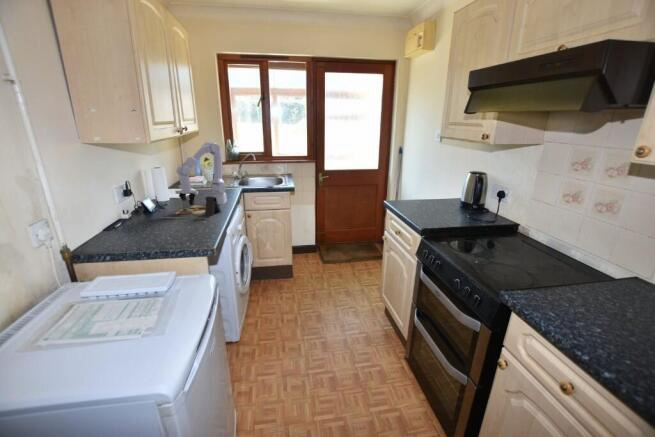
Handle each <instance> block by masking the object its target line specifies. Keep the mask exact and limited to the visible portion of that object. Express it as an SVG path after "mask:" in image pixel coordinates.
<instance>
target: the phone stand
mask: <svg viewBox="0 0 655 437" xmlns="http://www.w3.org/2000/svg"><path fill="white" fill-rule="evenodd" d="M205 206H206V209H205V212H204V216H210V217H213V216H214V215H215V213H218V214H219V213H220V214H221V213H222V210H221V208H220V205H218V203H217V199H216V197H214V196H206V197H205Z"/></svg>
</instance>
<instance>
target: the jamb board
mask: <svg viewBox="0 0 655 437" xmlns="http://www.w3.org/2000/svg"><path fill="white" fill-rule="evenodd" d="M205 209H206V205H194V206H192V207H190V208H183V207H182V209H180V210H178V211H176V212H175V213H174V214H175V215H177V214H179V215H180V214H183V215H202V214H205Z"/></svg>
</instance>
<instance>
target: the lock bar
mask: <svg viewBox="0 0 655 437" xmlns="http://www.w3.org/2000/svg"><path fill="white" fill-rule="evenodd" d="M181 204H182V209H183V208H190V207H192V206H196V205H195V202H194V203H193V205H191V204H190V199H189V196H188V197H186V199H184V200H182V199H181Z"/></svg>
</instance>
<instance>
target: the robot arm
mask: <svg viewBox="0 0 655 437" xmlns="http://www.w3.org/2000/svg"><path fill="white" fill-rule="evenodd" d="M205 154H211V155H212V157H213V180H212V181H211V185H210V188H211V189H210V190H211V191H212V192H213V197H216V199H217V203H218V205H219V206H221V205H224V204H227V202H228V197H227V196H228V195H227V193H226V190H227V187H226V183H225V181H224V180H223V153H222V150H221V145H220V144H218V143H217V142H209V141H206V142H203V144H202V145H201V146H200V148H199V149H198V150H197V151H196V152H195V153H194V155H193V156H189V157H187V158H186V160H185V161H184V162H182V163H181V165H179V166H177V168H176V171H175V172H176V173H177V174H178V178H179V182H180V188H181V189H180V190H179V189H178V190H175V191H174V192H175V195H178V197H179V199H180V200H181V201H182V200H184V199H186V198H187V196H188V197H189V199H190V204H191V205H193V203H194V204H195V197H196V196H197V195H198V194H199V190H193V189H192V186H191V180H190V175H189V174H191V170H192V169H193V168H194V167H196V165H197V164H198V160H200V159H201V158H202V157H203V156H204V155H205Z"/></svg>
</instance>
